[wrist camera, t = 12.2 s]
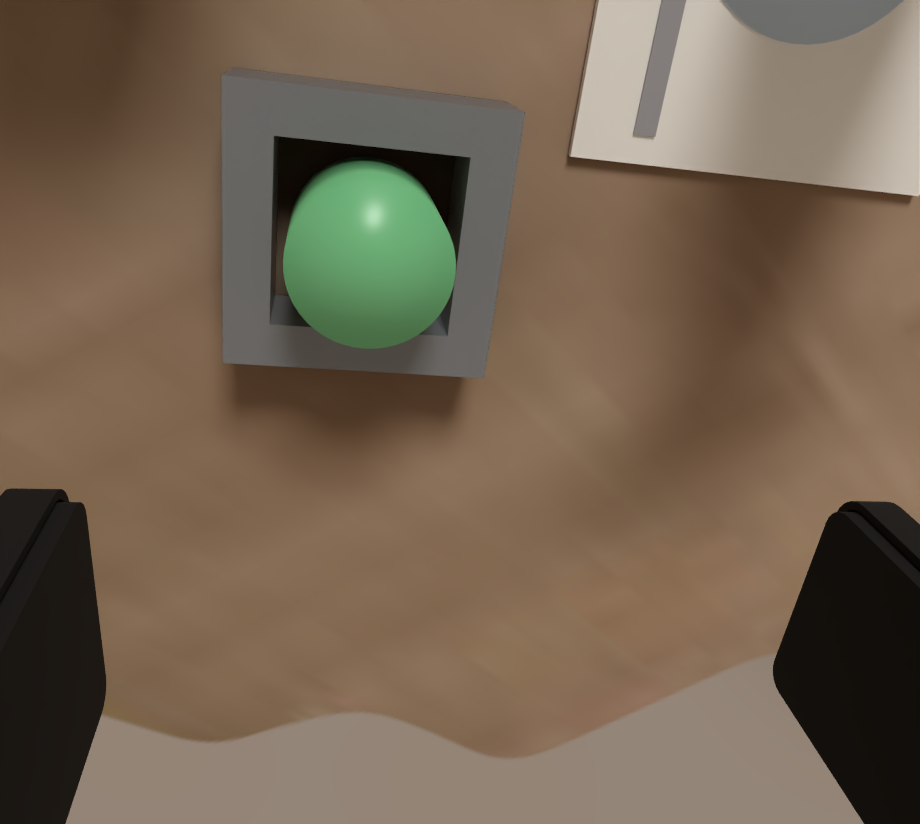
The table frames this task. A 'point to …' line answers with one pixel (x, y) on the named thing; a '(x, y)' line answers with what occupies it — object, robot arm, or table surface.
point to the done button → (367, 254)
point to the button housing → (378, 125)
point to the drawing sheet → (757, 89)
